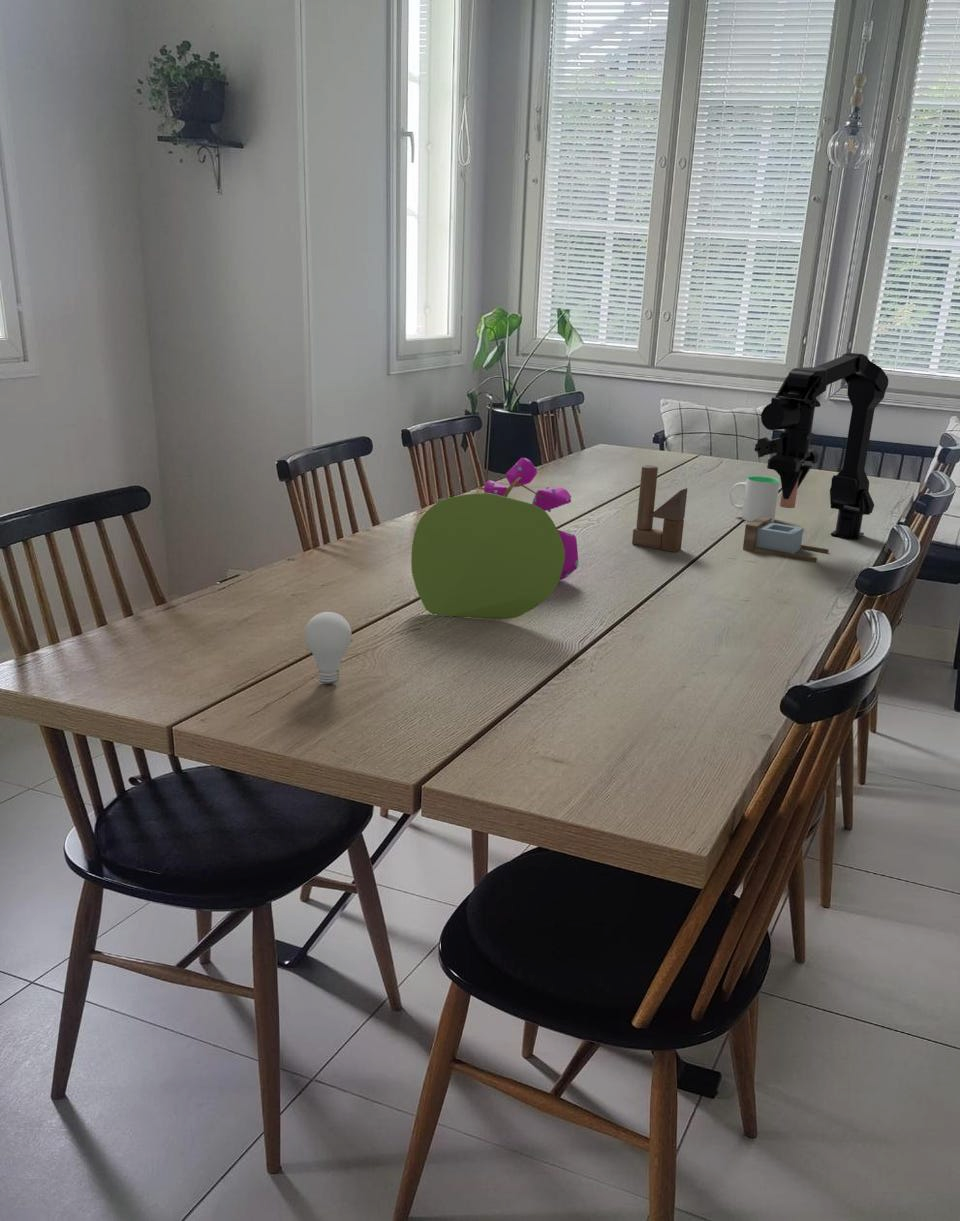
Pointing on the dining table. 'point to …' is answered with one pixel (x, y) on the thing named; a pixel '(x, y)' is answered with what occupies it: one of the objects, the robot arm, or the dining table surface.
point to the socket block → (779, 537)
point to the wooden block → (658, 515)
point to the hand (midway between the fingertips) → (788, 497)
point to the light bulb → (328, 643)
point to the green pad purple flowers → (492, 550)
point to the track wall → (750, 545)
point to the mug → (758, 497)
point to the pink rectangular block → (791, 501)
